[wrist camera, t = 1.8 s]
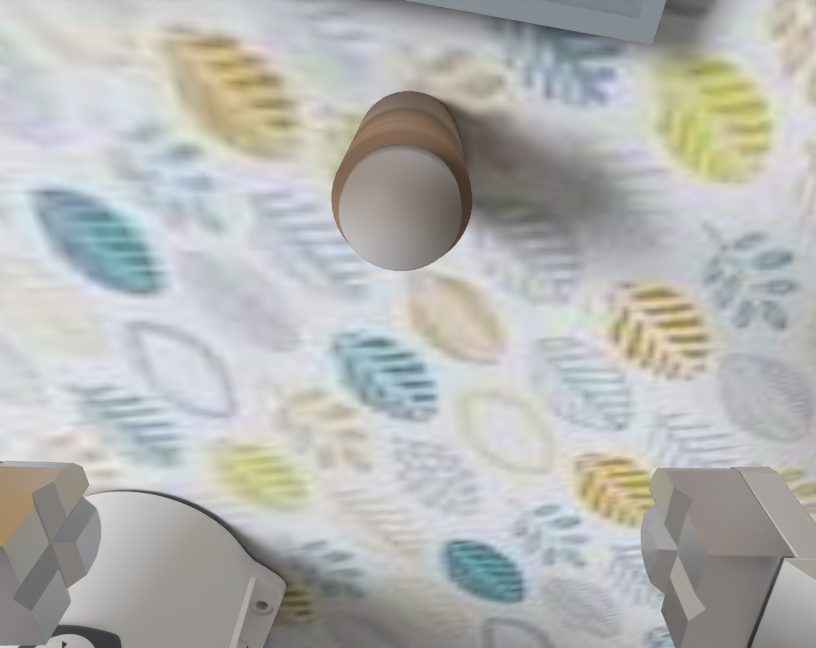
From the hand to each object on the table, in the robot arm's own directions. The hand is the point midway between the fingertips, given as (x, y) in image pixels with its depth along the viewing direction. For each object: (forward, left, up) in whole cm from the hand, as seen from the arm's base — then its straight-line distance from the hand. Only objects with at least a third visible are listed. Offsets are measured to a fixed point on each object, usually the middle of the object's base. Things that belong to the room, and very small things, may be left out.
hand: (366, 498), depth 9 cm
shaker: (0, 0, -23) cm, 23 cm away
